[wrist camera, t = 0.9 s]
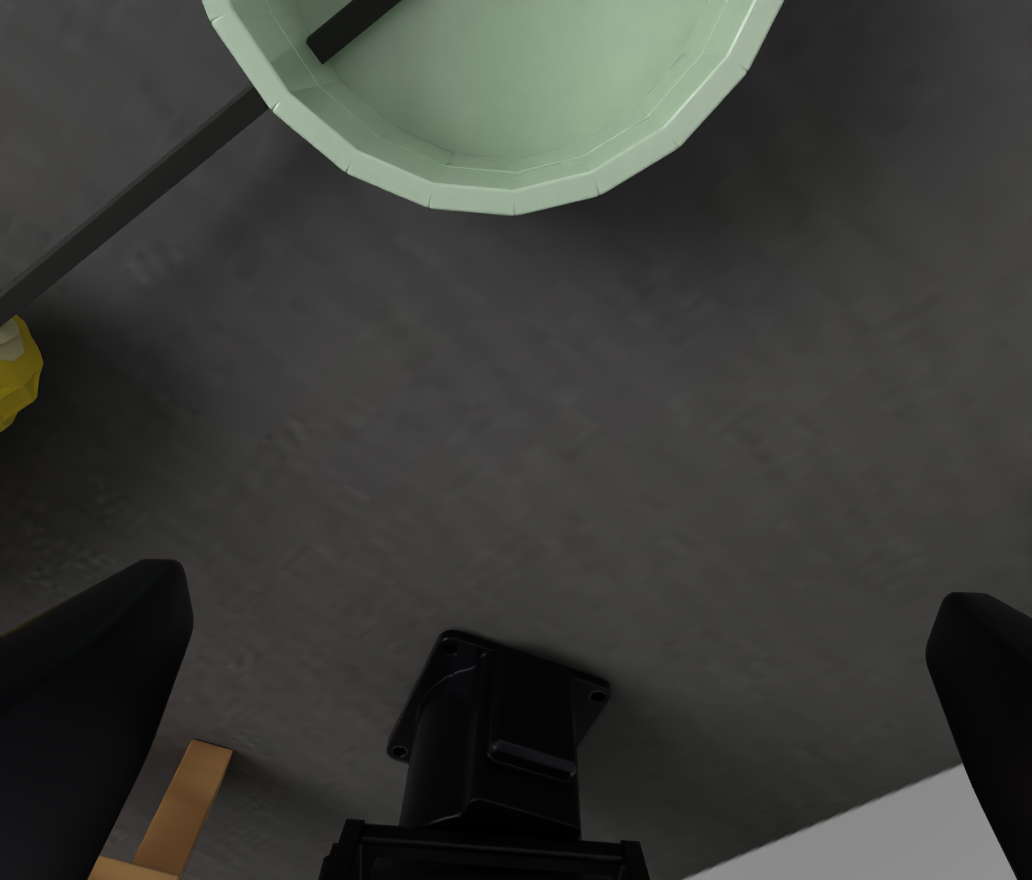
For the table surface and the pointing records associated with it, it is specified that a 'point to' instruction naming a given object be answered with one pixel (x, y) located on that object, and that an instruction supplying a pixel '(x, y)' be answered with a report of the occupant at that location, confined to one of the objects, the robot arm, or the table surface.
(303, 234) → the table surface
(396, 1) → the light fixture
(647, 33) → the bowl
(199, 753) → the wooden blocks
